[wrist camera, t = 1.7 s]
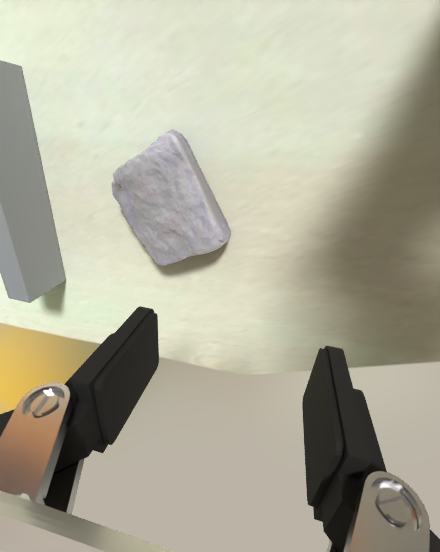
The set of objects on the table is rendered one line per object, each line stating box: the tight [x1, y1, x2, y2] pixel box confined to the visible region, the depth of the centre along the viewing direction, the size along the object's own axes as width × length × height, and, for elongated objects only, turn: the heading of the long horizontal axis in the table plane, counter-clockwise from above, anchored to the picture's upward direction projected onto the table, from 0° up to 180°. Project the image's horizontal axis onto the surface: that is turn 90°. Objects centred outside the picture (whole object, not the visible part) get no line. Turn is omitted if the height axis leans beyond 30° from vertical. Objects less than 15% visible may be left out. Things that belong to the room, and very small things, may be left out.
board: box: [0, 61, 66, 303], centre depth 30 cm, size 24×3×6 cm, turn 175°
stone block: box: [112, 130, 231, 266], centre depth 28 cm, size 12×5×10 cm
